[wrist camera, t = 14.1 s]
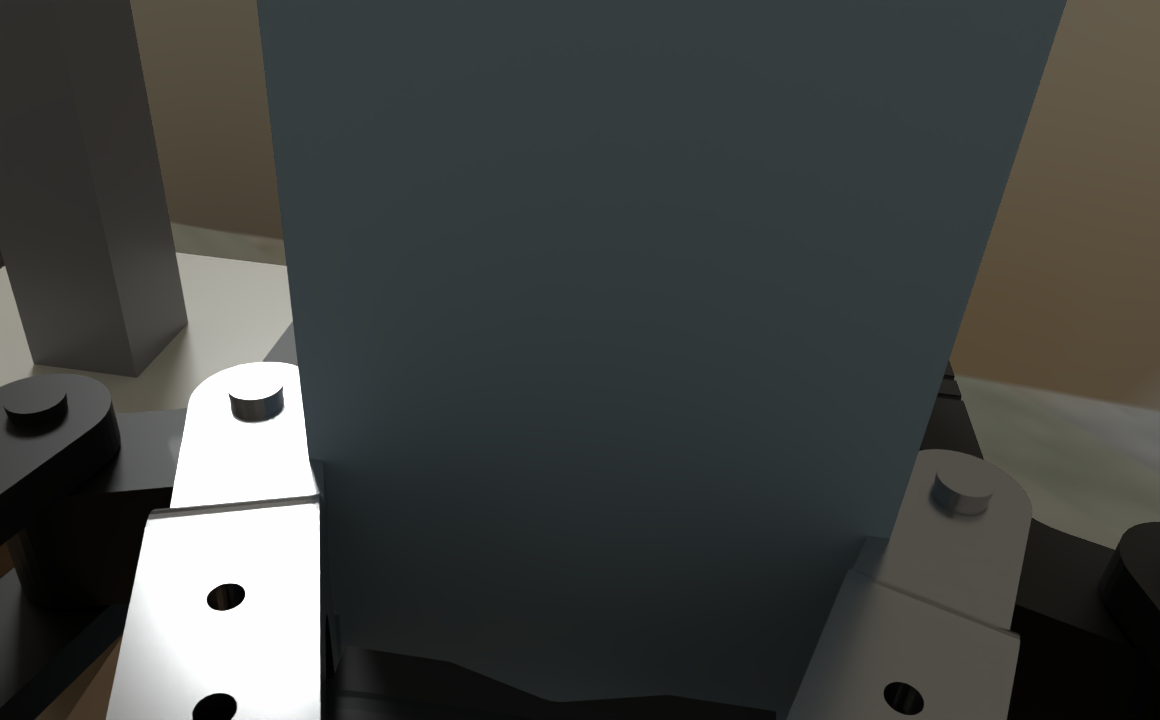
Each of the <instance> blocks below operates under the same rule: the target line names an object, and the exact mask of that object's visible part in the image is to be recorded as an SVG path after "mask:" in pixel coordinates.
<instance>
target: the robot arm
mask: <svg viewBox="0 0 1160 720" xmlns="http://www.w3.org/2000/svg"><path fill="white" fill-rule="evenodd" d="M5 542H6V545H7V548H8V550H9V553H10V556H11V559H12V562H13V565H14V567H15V568H13V569H12V570H11V571H10V572H8V573H7V574H6V575H5V576H3V577H2V578H1V579H0V720H35V719H36V718H37V717H38V716H39V715H40V714H41V713H42V712H43V711H44V710H45V709H46V708H47V707H48V706H49V705H50V704H51V703H52V702H53V701H54V700H55V699H56V698H57V697H58V696H59V695H60V694H61V693H62V692H63V691H64V690H65V689H66V688H67V687H68V686H69V685H70V684H71V683H72V682H73V681H75V680H76V679H77V678H78V677H79V676H80V675H81V674H82V673H83V672H84V671H85V670H86V669H87V668H88V667H89V666H90V665H91V664H92V663H93V662H94V661H95V660H96V659H97V658H98V657H99V656H100V655H101V654H102V653H103V652H104V651H105V650H106V649H107V648H108V647H109V646H110V645H111V644H112V643H113V642H114V641H115V640H116V639H117V638H118V637H120V636H121V635H122V634H123V633H124V634H123V638H122V643H121V648H120V653H119V658H118V663H117V667H116V672H115V677H114V682H113V687H112V692H111V697H110V701H109V706H108V711H107V716H106V720H776V711H771V710H764V709H758V708H751V707H745V706H738V705H732V704H725V703H718V702H712V701H705V700H699V699H692V698H686V697H679V696H672V695H657V696H643V697H628V698H614V699H599V700H585V701H570V702H555V701H549V700H546V699H543V698H540V697H537V696H535V695H532V694H530V693H527V692H525V691H522V690H520V689H517V688H515V687H512V686H510V685H507V684H505V683H502V682H500V681H497V680H495V679H492V678H490V677H487V676H485V675H482V674H479V673H477V672H474V671H472V670H469V669H467V668H464V667H462V666H459V665H457V664H454V663H452V662H449V661H443V660H436V659H429V658H423V657H416V656H410V655H403V654H397V653H390V652H384V651H377V650H370V649H364V648H357V647H351V646H346V648H345V650H344V652H343V651H342V638H341V628H340V618H339V615H334V609H333V599H332V590H331V580H330V567H329V550H328V505H327V491H326V481H325V471H324V461H323V460H317V459H310V458H308V451H307V443H306V434H305V425H304V416H303V407H302V398H301V389H300V380H299V372H298V363H297V354H296V345H295V336H294V327H293V321H292V323H291V324H290V325H289V327H288V328H287V329H286V330H285V332H284V333H283V334H282V336H281V337H280V338H279V340H278V341H277V342H276V344H275V345H274V346H273V348H272V349H271V350H270V352H269V353H268V354H267V356H266V357H265V358H264V360H263V361H262V362H258V363H249V364H244V365H239V366H235V367H232V368H229V369H226V370H223V371H221V372H219V373H217V374H215V375H213V376H211V377H209V378H208V379H207V380H205V381H204V382H202V383H201V384H200V385H199V386H198V387H197V388H196V389H195V391H194V392H193V394H192V396H191V399H190V401H189V406H188V408H183V409H174V410H162V411H148V412H134V413H120V414H115V410H114V406H113V402H112V398H111V394H110V392H109V390H108V389H107V388H106V386H105V385H104V384H102V383H101V382H99V381H98V380H95V379H93V378H90V377H87V376H83V375H78V374H69V373H55V374H44V375H38V376H32V377H28V378H24V379H20V380H17V381H14V382H11V383H8V384H6V385H4V386H1V387H0V546H1V545H3V544H4V543H5ZM786 720H1160V522H1149V523H1142V524H1139V525H1135V526H1133V527H1132V528H1130V529H1128V530H1127V531H1126V532H1125V533H1124V534H1123V536H1122V538H1121V540H1120V542H1119V544H1118V546H1117V548H1116V550H1113V549H1110V548H1107V547H1105V546H1102V545H1099V544H1096V543H1093V542H1090V541H1087V540H1084V539H1081V538H1078V537H1075V536H1073V535H1070V534H1067V533H1064V532H1061V531H1059V530H1056V529H1054V528H1051V527H1049V526H1047V525H1045V524H1043V523H1041V522H1039V521H1037V520H1035V519H1033V518H1032V506H1031V502H1030V499H1029V497H1028V495H1027V493H1026V492H1025V491H1024V489H1023V488H1022V487H1021V485H1020V484H1019V483H1018V482H1017V481H1016V480H1014V479H1013V478H1012V477H1011V476H1010V475H1008V474H1007V473H1006V472H1005V471H1003V470H1001V469H1000V468H998V467H996V466H995V465H993V464H991V463H989V462H987V461H985V460H984V459H983V456H982V453H981V450H980V447H979V444H978V441H977V439H976V436H975V433H974V430H973V427H972V424H971V422H970V419H969V416H968V413H967V410H966V407H965V404H964V402H963V401H961V393H960V390H959V387H958V384H957V382H956V381H955V380H954V373H953V371H952V367H951V365H950V362H949V361H948V364H947V367H946V370H945V373H944V376H943V379H942V382H941V385H940V388H939V391H938V394H937V397H936V400H935V403H934V406H933V409H932V413H931V416H930V419H929V422H928V425H927V428H926V431H925V434H924V437H923V440H922V443H921V446H920V449H919V452H918V455H917V458H916V461H915V464H914V467H913V470H912V473H911V477H910V480H909V483H908V486H907V489H906V492H905V495H904V498H903V501H902V504H901V507H900V510H899V513H898V516H897V519H896V522H895V525H894V528H893V531H892V534H891V537H890V539H889V538H881V537H874V536H866V539H865V541H864V544H863V546H862V549H861V551H860V553H859V556H858V558H857V561H856V563H855V566H854V568H853V569H851V568H849V570H848V572H847V574H846V576H845V578H844V581H843V583H842V586H841V588H840V590H839V593H838V595H837V598H836V600H835V603H834V605H833V607H832V610H831V612H830V615H829V617H828V619H827V622H826V624H825V627H824V629H823V632H822V634H821V636H820V639H819V641H818V644H817V646H816V649H815V651H814V653H813V656H812V658H811V661H810V663H809V666H808V668H807V670H806V673H805V675H804V678H803V680H802V683H801V685H800V687H799V690H798V692H797V695H796V697H795V700H794V702H793V704H792V707H791V709H790V712H789V714H788V717H787V719H786Z"/></svg>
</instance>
